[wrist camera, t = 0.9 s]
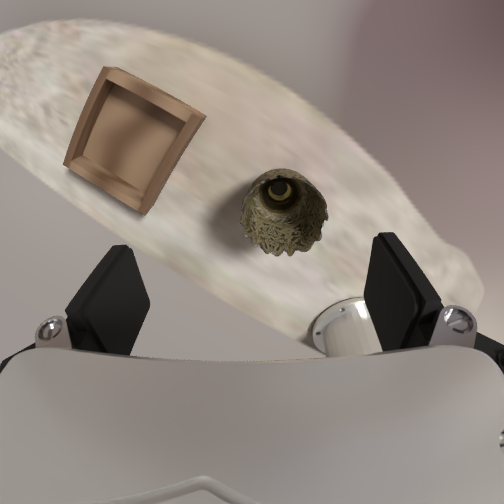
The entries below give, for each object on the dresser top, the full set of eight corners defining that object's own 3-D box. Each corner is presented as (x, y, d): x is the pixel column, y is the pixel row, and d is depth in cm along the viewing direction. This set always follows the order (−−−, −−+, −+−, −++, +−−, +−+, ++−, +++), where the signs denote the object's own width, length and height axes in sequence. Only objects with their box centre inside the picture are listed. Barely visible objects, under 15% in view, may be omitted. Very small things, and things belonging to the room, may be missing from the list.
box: (206, 116, 26) (200, 118, 24) (153, 204, 32) (144, 215, 29) (116, 67, 23) (103, 66, 20) (76, 157, 28) (62, 164, 26)
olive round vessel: (253, 147, 28) (251, 167, 21) (321, 164, 29) (340, 190, 22) (238, 210, 32) (232, 247, 25) (301, 225, 33) (311, 264, 26)
